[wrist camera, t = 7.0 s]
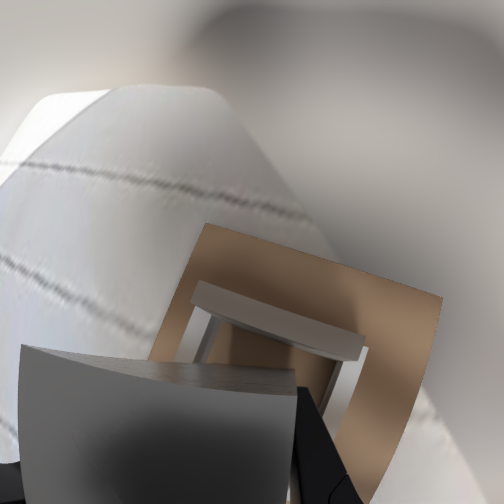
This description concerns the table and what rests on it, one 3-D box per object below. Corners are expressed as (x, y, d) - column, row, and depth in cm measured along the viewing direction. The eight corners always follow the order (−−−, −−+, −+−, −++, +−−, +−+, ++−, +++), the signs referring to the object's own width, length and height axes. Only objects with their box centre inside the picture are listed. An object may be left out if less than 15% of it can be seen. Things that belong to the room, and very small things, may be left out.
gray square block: (289, 441, 14) (264, 625, 2) (212, 434, 14) (36, 546, 2) (295, 368, 15) (297, 395, 3) (218, 363, 16) (21, 344, 4)
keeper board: (299, 589, 11) (296, 650, 4) (104, 512, 15) (46, 544, 8) (433, 302, 18) (493, 269, 11) (211, 231, 22) (174, 171, 15)
